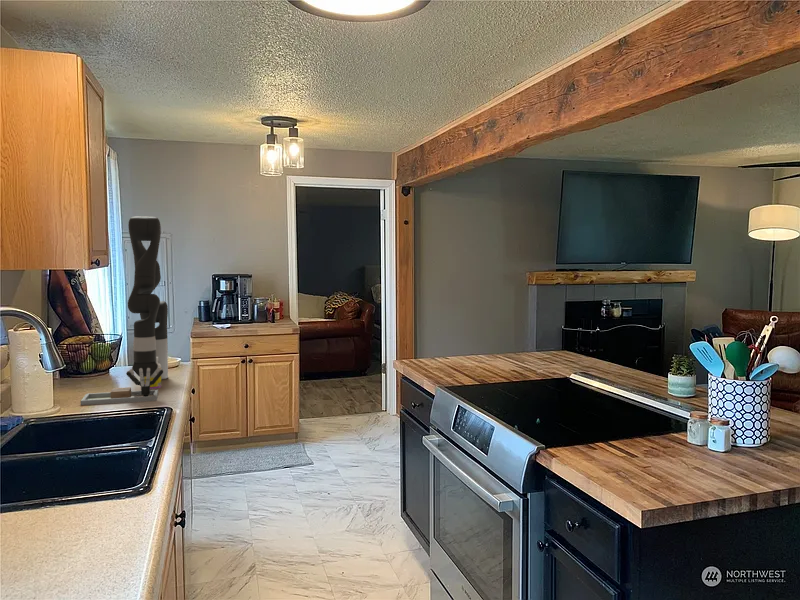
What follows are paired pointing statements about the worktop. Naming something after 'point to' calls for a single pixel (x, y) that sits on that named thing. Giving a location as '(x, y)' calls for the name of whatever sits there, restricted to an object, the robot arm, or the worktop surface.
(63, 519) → the worktop surface
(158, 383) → the supplement bottle
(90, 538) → the worktop surface
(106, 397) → the tray
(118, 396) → the block
